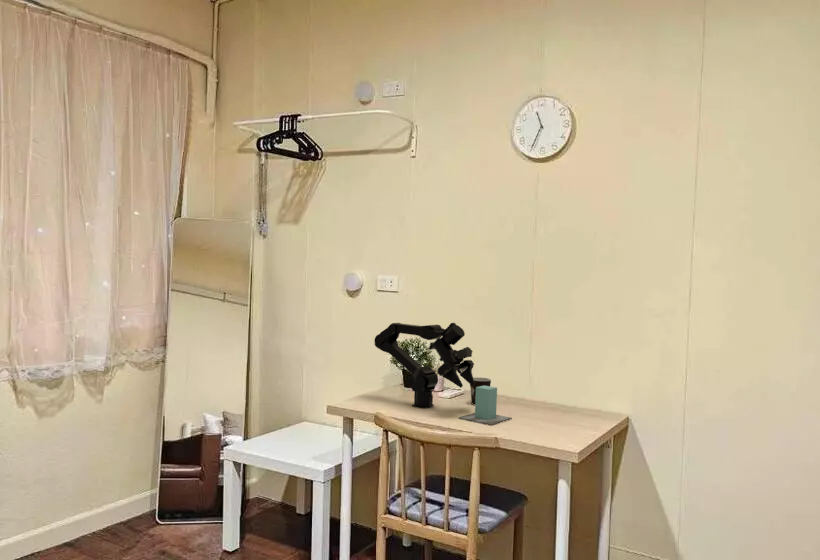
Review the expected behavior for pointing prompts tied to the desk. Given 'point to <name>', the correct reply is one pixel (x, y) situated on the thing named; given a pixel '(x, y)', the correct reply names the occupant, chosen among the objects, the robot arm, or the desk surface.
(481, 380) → the coffee mug
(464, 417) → the flat grey base tile
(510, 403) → the desk surface
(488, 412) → the teal rectangular pillar
